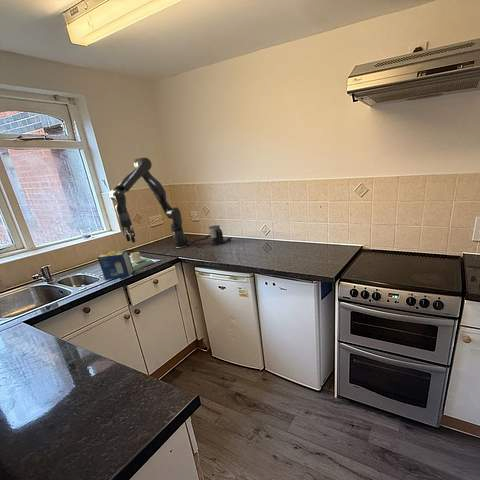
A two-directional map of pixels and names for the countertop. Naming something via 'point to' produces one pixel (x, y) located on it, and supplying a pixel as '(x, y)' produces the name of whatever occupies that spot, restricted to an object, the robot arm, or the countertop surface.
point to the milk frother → (217, 235)
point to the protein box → (115, 264)
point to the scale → (140, 262)
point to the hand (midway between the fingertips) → (131, 241)
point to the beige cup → (135, 256)
